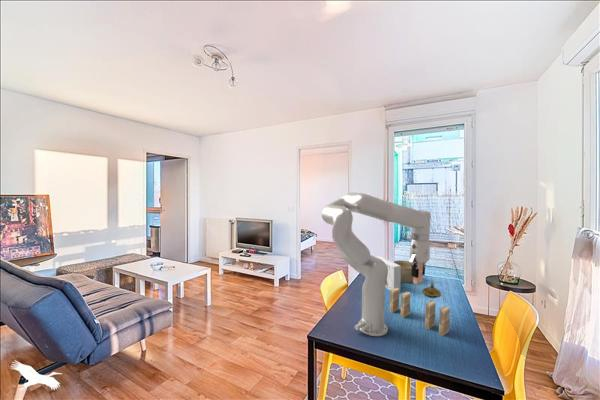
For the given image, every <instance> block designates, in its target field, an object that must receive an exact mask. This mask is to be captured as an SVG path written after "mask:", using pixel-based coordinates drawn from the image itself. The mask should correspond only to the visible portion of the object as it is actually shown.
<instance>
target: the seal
mask: <svg viewBox="0 0 600 400" xmlns="http://www.w3.org/2000/svg"><path fill="white" fill-rule="evenodd" d="M422 294H423V295H425V296H426V297H428V298H440V296H441V292H440V289H437V288H435V285H434V283H433V282H431V283H430V287H425V288H423V289H422Z"/></svg>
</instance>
